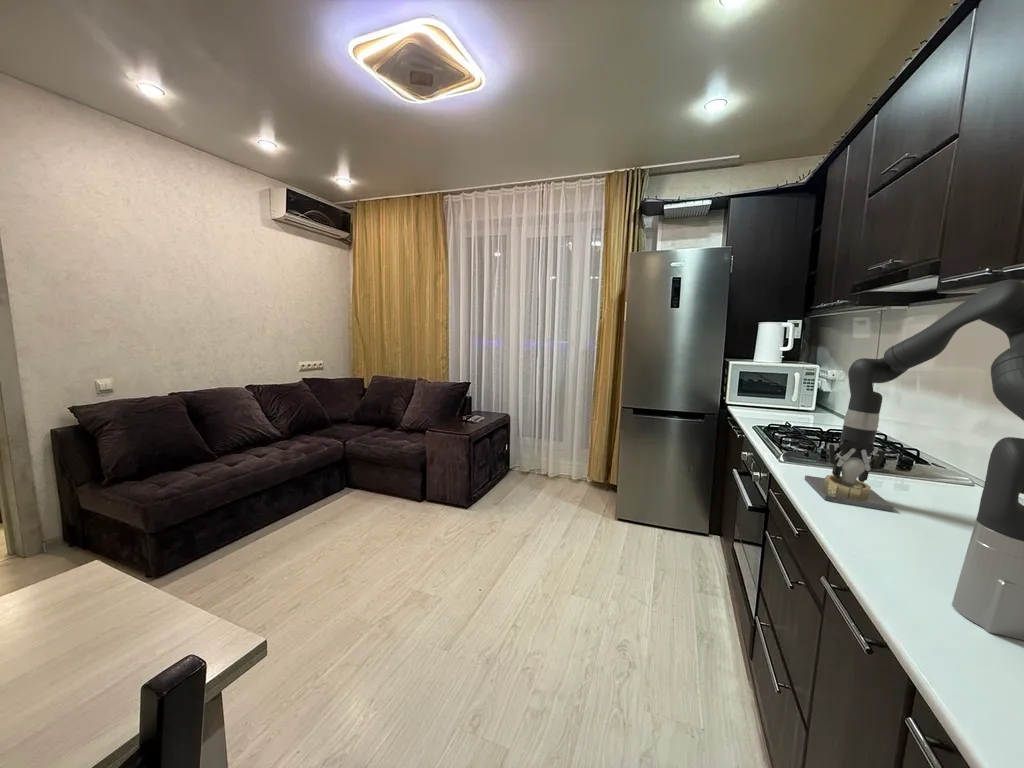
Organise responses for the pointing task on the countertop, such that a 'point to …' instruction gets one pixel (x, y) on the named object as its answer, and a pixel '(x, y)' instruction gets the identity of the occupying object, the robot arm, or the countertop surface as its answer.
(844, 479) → the lightbulb
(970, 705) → the countertop surface
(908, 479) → the countertop surface
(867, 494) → the lamp socket
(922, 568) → the countertop surface
